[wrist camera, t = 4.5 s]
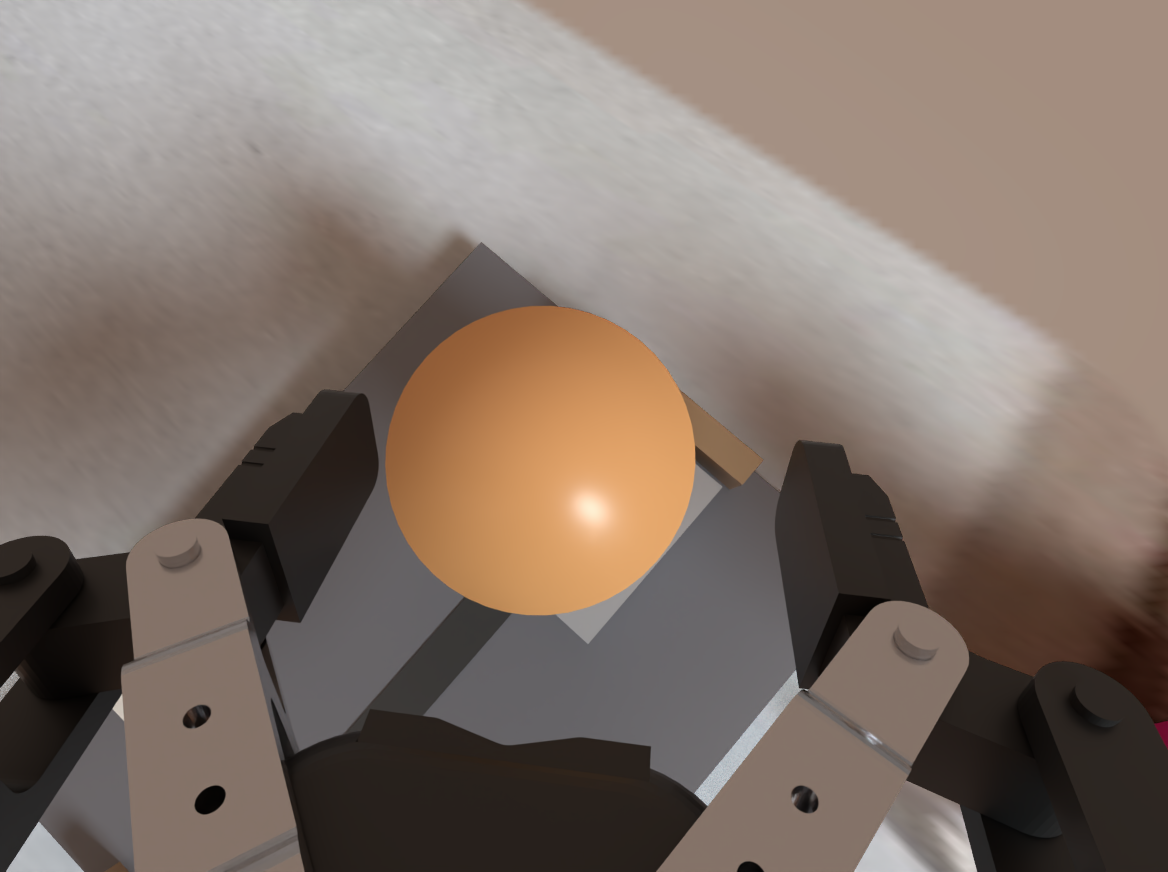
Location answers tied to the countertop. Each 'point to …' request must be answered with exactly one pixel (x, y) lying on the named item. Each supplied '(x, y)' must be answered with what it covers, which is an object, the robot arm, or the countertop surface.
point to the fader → (544, 464)
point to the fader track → (507, 622)
